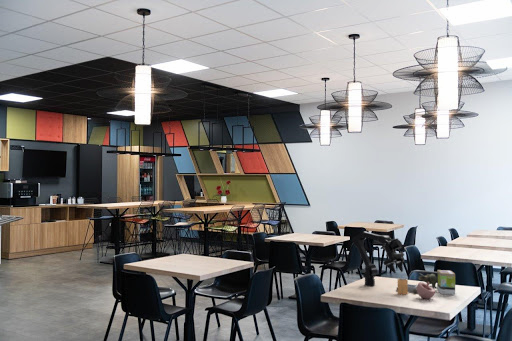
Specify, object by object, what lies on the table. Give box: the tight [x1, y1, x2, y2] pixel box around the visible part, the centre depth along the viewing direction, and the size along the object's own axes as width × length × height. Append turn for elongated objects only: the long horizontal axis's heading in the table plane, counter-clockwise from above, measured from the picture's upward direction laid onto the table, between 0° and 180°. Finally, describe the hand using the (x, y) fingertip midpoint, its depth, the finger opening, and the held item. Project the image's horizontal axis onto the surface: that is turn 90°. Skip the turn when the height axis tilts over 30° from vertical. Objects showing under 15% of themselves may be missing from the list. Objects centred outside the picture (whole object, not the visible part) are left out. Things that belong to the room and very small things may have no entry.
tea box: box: [436, 269, 456, 296], centre depth 339 cm, size 15×10×15 cm, turn 168°
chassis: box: [396, 283, 418, 294], centre depth 344 cm, size 16×15×4 cm
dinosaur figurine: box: [418, 272, 437, 290], centre depth 355 cm, size 22×8×11 cm, turn 123°
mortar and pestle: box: [416, 281, 436, 300], centre depth 319 cm, size 12×12×12 cm
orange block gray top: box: [397, 277, 409, 296], centre depth 333 cm, size 5×4×11 cm
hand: (398, 272), depth 343 cm, fingers open, 9 cm apart
